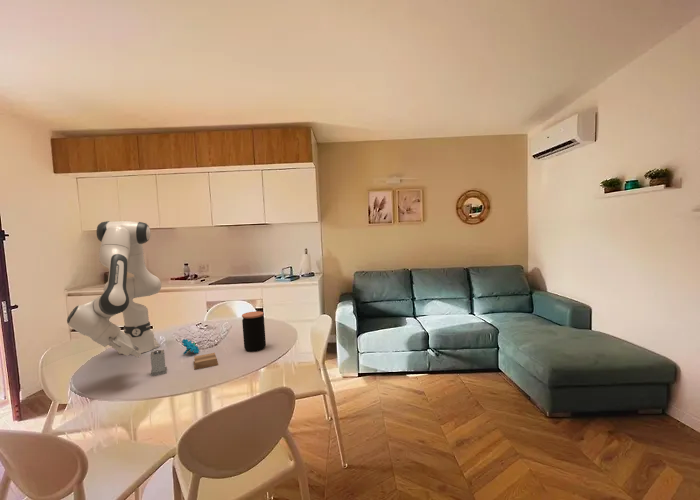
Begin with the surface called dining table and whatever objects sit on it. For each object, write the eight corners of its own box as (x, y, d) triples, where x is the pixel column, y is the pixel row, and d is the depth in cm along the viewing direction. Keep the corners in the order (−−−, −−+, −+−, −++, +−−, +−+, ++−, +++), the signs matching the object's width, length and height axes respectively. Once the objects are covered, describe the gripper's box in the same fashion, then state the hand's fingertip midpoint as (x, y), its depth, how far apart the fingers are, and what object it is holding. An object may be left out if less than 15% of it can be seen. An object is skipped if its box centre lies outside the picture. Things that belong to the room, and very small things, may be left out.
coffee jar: (265, 343, 188) (262, 310, 186) (267, 350, 178) (264, 314, 176) (244, 347, 184) (241, 312, 183) (244, 353, 174) (242, 317, 173)
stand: (193, 362, 166) (192, 356, 166) (216, 358, 170) (215, 352, 170) (194, 370, 157) (193, 363, 157) (218, 365, 161) (217, 358, 161)
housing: (151, 371, 158) (149, 350, 157) (167, 368, 160) (165, 347, 159) (150, 376, 152) (148, 354, 152) (166, 373, 155) (164, 351, 154)
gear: (196, 353, 174) (180, 339, 174) (187, 362, 173) (172, 349, 173) (203, 348, 185) (189, 336, 185) (195, 357, 184) (181, 345, 184)
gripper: (116, 334, 138) (147, 352, 144) (114, 324, 154) (142, 340, 161) (103, 348, 135) (135, 366, 142) (102, 336, 152) (131, 353, 158)
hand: (139, 352), depth 151 cm, fingers open, 8 cm apart
